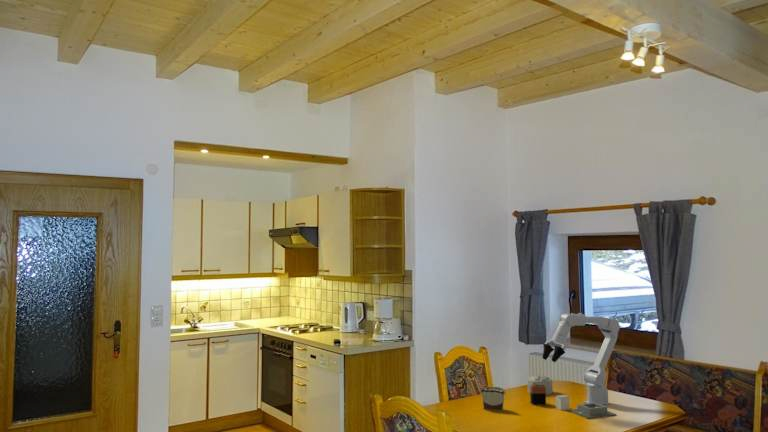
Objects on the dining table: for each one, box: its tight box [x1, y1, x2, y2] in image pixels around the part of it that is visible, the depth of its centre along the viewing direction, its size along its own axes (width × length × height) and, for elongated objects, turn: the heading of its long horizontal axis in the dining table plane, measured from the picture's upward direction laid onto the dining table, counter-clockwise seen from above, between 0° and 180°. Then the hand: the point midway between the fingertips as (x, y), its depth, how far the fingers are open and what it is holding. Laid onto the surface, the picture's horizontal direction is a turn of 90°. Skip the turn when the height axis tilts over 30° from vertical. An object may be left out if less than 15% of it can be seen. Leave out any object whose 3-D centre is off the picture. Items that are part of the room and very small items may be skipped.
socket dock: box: [568, 402, 617, 420], centre depth 276 cm, size 16×14×4 cm
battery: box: [529, 383, 547, 406], centre depth 294 cm, size 4×7×10 cm, turn 93°
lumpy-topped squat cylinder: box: [526, 374, 554, 396], centre depth 318 cm, size 10×13×9 cm
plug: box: [555, 394, 571, 411], centre depth 285 cm, size 5×4×6 cm
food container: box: [480, 386, 506, 412], centre depth 286 cm, size 12×6×10 cm, turn 65°
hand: (548, 360), depth 285 cm, fingers open, 7 cm apart
